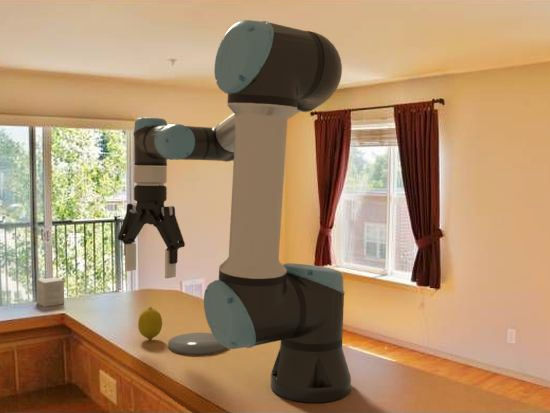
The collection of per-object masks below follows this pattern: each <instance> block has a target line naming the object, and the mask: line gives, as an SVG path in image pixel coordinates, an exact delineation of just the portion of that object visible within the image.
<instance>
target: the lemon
mask: <svg viewBox="0 0 550 413" xmlns="http://www.w3.org/2000/svg"><path fill="white" fill-rule="evenodd" d="M137 325H138V326H137V327H138V331H139V334H141V336H143V337H144V338H146V339H148V341H151V340H153V339H154V338H155V337H157V336H158V335H159V334H160V333H161V331H162V327H163V320H162V315H161V313H160V312H159V311H158V310H157V309H156V308H153V307H152V306H149V307H148V308H146V309H144V310H143V311H142V312H141V313H140V315H139V318H138V324H137Z"/></svg>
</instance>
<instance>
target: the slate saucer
mask: <svg viewBox="0 0 550 413" xmlns="http://www.w3.org/2000/svg"><path fill="white" fill-rule="evenodd" d="M167 343H168V344H167V345H168V349H169V351H171V352H173V353H175V352H176V353H175V354H179V355H185V356H207V355H208V356H209V355H213V354H218V353H220V352H224V351H226V350H227V349H228V348H227V347H225V346H223V345H222V344H220V343H219V342H218V341H217V339H216V338H215V337H214V335H213V334H212V332H189V333H183V334H178V335H176V336H174V337H171V338H170V339H169V340H168V342H167Z"/></svg>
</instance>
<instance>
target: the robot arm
mask: <svg viewBox="0 0 550 413" xmlns="http://www.w3.org/2000/svg"><path fill="white" fill-rule="evenodd" d="M217 48H218V49H217V51H216V56H215V60H214V69H213V70H214V78H215V80H216V85H217V87H218V88H219V89H220V90H221V92H223V93H224V94H227V107H228V108H229V110H231V112H233V113H232V114H230V115H229V116H228V117H226V118H225V119H223V121H221V122H220V123H218V124H217V125H216V126H214V127H208V126H206V127H205V126H191V125H184V124H179V123H168V122H167V120H166V119H165V118H159V117H138V118H137V119H136V120H135V121H134V128H133V129H134V130H133V146H134V147H133V153H134V154H133V160H134V161H133V162H134V163H133V164H134V166H133V183H134V184H136V185H134V186H133V200H134V201H135V202H136V203H127V204H126V211H125V212H126V213H125V215H124V218H123V221H122V224H121V227H120V230H119V233H118V235H117V240H118V241H121V242H122V243H123V245H124V246H123V247H124V248H123V250H124V252H123V254H124V258H125V264H124V266H125V267H124V268H125V272H130V271H136V270H137V243H136V239H137V237H138V236H139V234H140V233H141V231H142V229H143V227H144V226H145V225H146V224H148V225H151V226H152V225H153V227H155V228H156V230H157V231H158V233H159V235H160V237H161V239H162V241H163V242H164V244H165V246H166V249H164V279H170V278H171V279H172V278H176V276H177V273H176V272H177V263H178V256H179V255H178V254H179V253H178V251H179V249H181V248H185V246H186V243H185V241H184V240H185V239H184V237H183V235H182V232H181V229H180V226H179V223H178V219H177V216H176V207H175V206H172V205H171V206H168V205H167V206H165V202H166V201H167V197H168V196H167V194H168V192H167V191H168V190H167V188H168V187H167V186H166V185H165V184H167V176H168V174H167V173H168V171H167V170H168V168H167V166H168V161H167V160H170V161H171V160H172V161H173V160H176V161H178V160H183V161H188V160H189V161H190V160H191V161H214V162H215V161H216V162H220V161H221V162H231V161H233V164H232V165H233V166H232V184H231V186H232V187H231V204H230V225H229V226H230V227H229V245H228V247H229V248H228V257H227V258H226V260H224V261H223V262H221V264H220V265H219V267H218V279H215V280H214V281H212V282H210V283H208V285H207V286H206V289H205V290H204V294H203V310H204V316H205V318H206V322H207V324H208V325H207V326H208V328H209V329H210V333H212V334H213V335H214V337H215V338H216V339H217V341H218V342H219V343H220V344H222V345H223V346H225V347H227V349H229V350H230V349H231V350H235V349H244V348H246V349H250V348H253V347H257V346H261V345H265V344H269V343H270V344H271V343H273V342H274V343H275V342H278V341H279V342H280V345H279V350H278V352H277V355H276V359H275V361H274V363H273V364H274V365H273V366H272V370H271V372H270V388H271V391H273V392H274V393H275V394H276V395H278V396H279V397H283V398H284V399H287V400H292V401H294V402H295V401H296V402H300V403H301V402H302V403H326V402H327V403H328V402H333V401H337V400H340V399H342V398H343V399H344V398H345V397H346V396H348V395H349V394H350V392H351V391H352V390H351V389H352V386H351V385H352V376H351V373H350V369H349V366H348V363H347V361H346V356H345V353H344V349H343V336H344V335H343V332H344V331H343V329H344V307H345V306H344V303H345V299H344V298H345V294H346V292H345V291H344V277H343V274H342V273H341V272H340V271H339V270H337V269H335V268H330V267H327V266H320V265H313V264H303V263H283V264H282V262H281V261H280V258H279V257H280V244H281V242H280V240H281V231H282V230H281V228H282V214H283V213H282V211H283V198H284V197H283V196H284V180H285V167H286V166H285V164H286V150H287V133H288V132H287V129H288V120H290V119H291V118H292V117H295V116H296V115H297V114H299V113H300V112H302V113H308V112H312V111H314V110H315V109H317V108H318V107H320V106H322V105H323V104H324V103H326V102H327V101H328V100H329V99H330V98H331V97H332V96H333V94H334V93H335V92H336V91H337V89H338V87H339V85H340V82H341V80H342V73H343V65H342V59H341V57H340V54H339V51H338V50H337V48H336V47H335V44H333V43H332V42H331V40H329V38H327V37H326V36H324V35H322V34H320V33H317V32H314V31H309V30H302V29H298V28H296V27H295V28H294V27H291V26H286V25H281V24H277V23H274V22H270V21H266V20H262V21H259V20H250V19H244V20H240V21H238V22H236V23H234V24H233V25H231V26H230V28H228V30H227V31H226V33H225V35H224V36H223V37H222V39H221V40H220V43H219V46H218V47H217Z"/></svg>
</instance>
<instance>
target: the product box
mask: <svg viewBox="0 0 550 413" xmlns="http://www.w3.org/2000/svg"><path fill="white" fill-rule="evenodd" d="M36 303H37V304H38V305H40V306H42V307H43V308H44V307H45V308H46V307H51V306H58V305H63V304H65V280H64V279H61V278H58V277H49V278H40V279H38V278H37V279H36Z"/></svg>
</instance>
